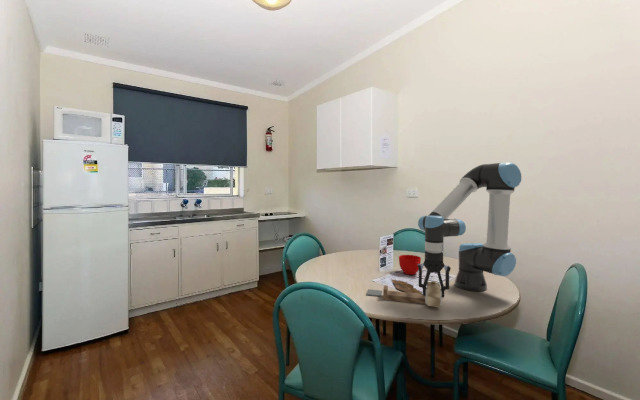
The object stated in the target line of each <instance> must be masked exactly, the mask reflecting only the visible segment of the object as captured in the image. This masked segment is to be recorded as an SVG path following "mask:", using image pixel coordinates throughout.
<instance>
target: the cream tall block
mask: <svg viewBox="0 0 640 400" xmlns="http://www.w3.org/2000/svg"><path fill="white" fill-rule="evenodd" d="M426 287H427V289H428V296H427V304H426V305H427V306H428V307H435V308H441V306H440V289H441V286H440V282H437V281H434V280H433V281H428V283H427V286H426Z"/></svg>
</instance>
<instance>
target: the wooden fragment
mask: <svg viewBox="0 0 640 400" xmlns="http://www.w3.org/2000/svg"><path fill="white" fill-rule="evenodd" d="M391 282H392V283H393V285H394V287H395V288H396V290H398V291H400V292H408V293H418V294H423V291H421V290H419V289H417V288H414V285H413V284H411V283H408V282H407V281H403V280H396V279H392V278H391Z"/></svg>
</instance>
